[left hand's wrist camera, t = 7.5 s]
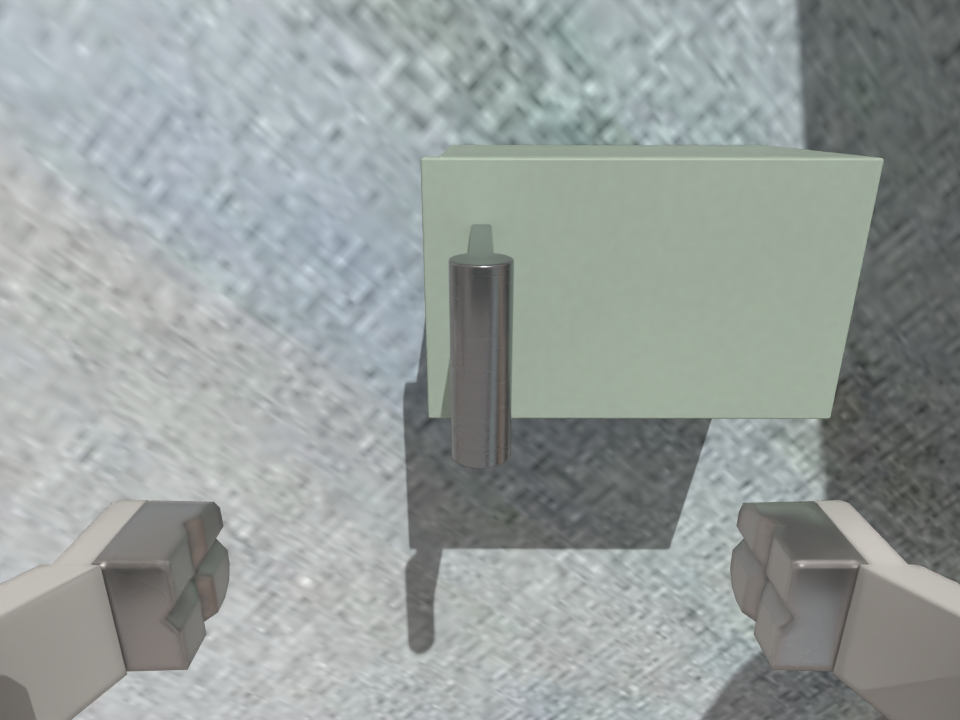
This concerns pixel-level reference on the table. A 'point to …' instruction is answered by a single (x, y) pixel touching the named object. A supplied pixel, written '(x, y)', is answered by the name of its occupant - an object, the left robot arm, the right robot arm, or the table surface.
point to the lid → (637, 288)
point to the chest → (637, 151)
